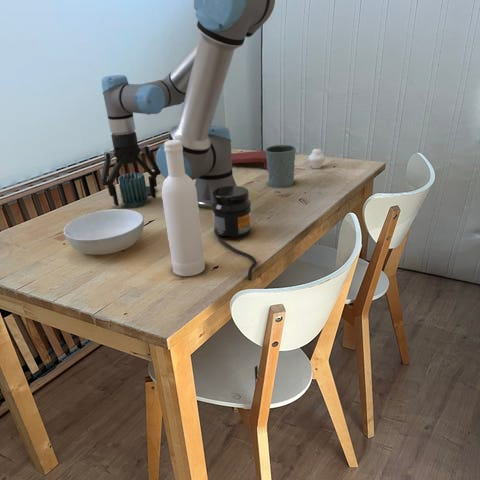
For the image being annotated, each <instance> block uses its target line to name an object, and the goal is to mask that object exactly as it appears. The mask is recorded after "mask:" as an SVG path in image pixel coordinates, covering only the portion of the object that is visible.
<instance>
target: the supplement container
mask: <svg viewBox="0 0 480 480" xmlns="http://www.w3.org/2000/svg"><path fill="white" fill-rule="evenodd" d="M249 193H250V192H249V189H248V188H246V187H244V186H241V185H236V186H225V187H221V188H218V189H216V190H214V191H213V200H214V202H213V203H212V209H211V210H212V218H213V230H214V231H213V233H214V234H215V236H216V237H218V236H220V237H221V239H222V240H226V241H227V240H228V241H234V240H235V241H236V240H241V239H244V238H246V237H248V236H249V235H250V234H251V233H252V231H253V227H252V208H251V207H252V202H251V200H250V199H249V198H250V197H249Z"/></svg>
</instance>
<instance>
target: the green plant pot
mask: <svg viewBox="0 0 480 480" xmlns="http://www.w3.org/2000/svg"><path fill="white" fill-rule="evenodd" d="M296 149H297V148H296V146H294V145H292V144H275V145H271V146H267V147H266V148H265V149H264V150H265V153H266V160H267V169H266V170H267V174H268V184H269V186H271V187H274V188H287V187H291V186H293V185H294V182H295V167H296V166H295V160H296V151H297V150H296Z"/></svg>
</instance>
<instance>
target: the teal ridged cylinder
mask: <svg viewBox="0 0 480 480" xmlns="http://www.w3.org/2000/svg"><path fill="white" fill-rule="evenodd" d="M117 182H118V186H119V191H120V198H121V202H122V206H123V207H125V208H133V209H134V208H140V207H144V206H146V205H148V204H149V196H147V190H146V186H147V185H146V178H145V174H143V173H141V172H130V173H126V174H125V173H124V174H121V175H119V176H118V178H117Z"/></svg>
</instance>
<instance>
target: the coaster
mask: <svg viewBox="0 0 480 480" xmlns="http://www.w3.org/2000/svg"><path fill="white" fill-rule="evenodd" d="M146 190H147V197H150V196H151V191H150V185H149V186H148V185H146ZM156 192H157V190H156V188H155V193H156Z"/></svg>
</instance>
